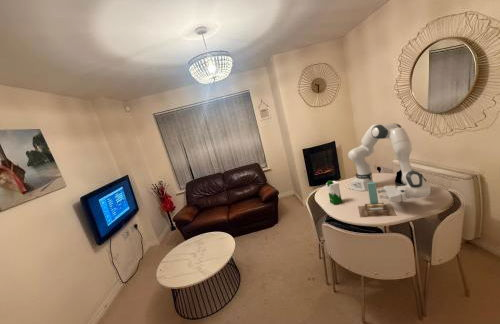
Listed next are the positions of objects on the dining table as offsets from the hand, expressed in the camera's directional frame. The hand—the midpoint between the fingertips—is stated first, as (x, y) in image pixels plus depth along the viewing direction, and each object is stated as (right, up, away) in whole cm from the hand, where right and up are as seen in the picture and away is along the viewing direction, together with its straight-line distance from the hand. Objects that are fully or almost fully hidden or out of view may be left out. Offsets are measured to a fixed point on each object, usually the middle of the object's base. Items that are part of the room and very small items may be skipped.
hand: (378, 194), depth 157 cm
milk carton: (-18, -12, +31) cm, 38 cm away
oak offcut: (-2, -12, 0) cm, 12 cm away
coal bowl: (+35, -1, +16) cm, 39 cm away
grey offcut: (-3, -13, -4) cm, 14 cm away
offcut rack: (-1, -13, +1) cm, 13 cm away
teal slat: (-1, -11, +3) cm, 11 cm away
